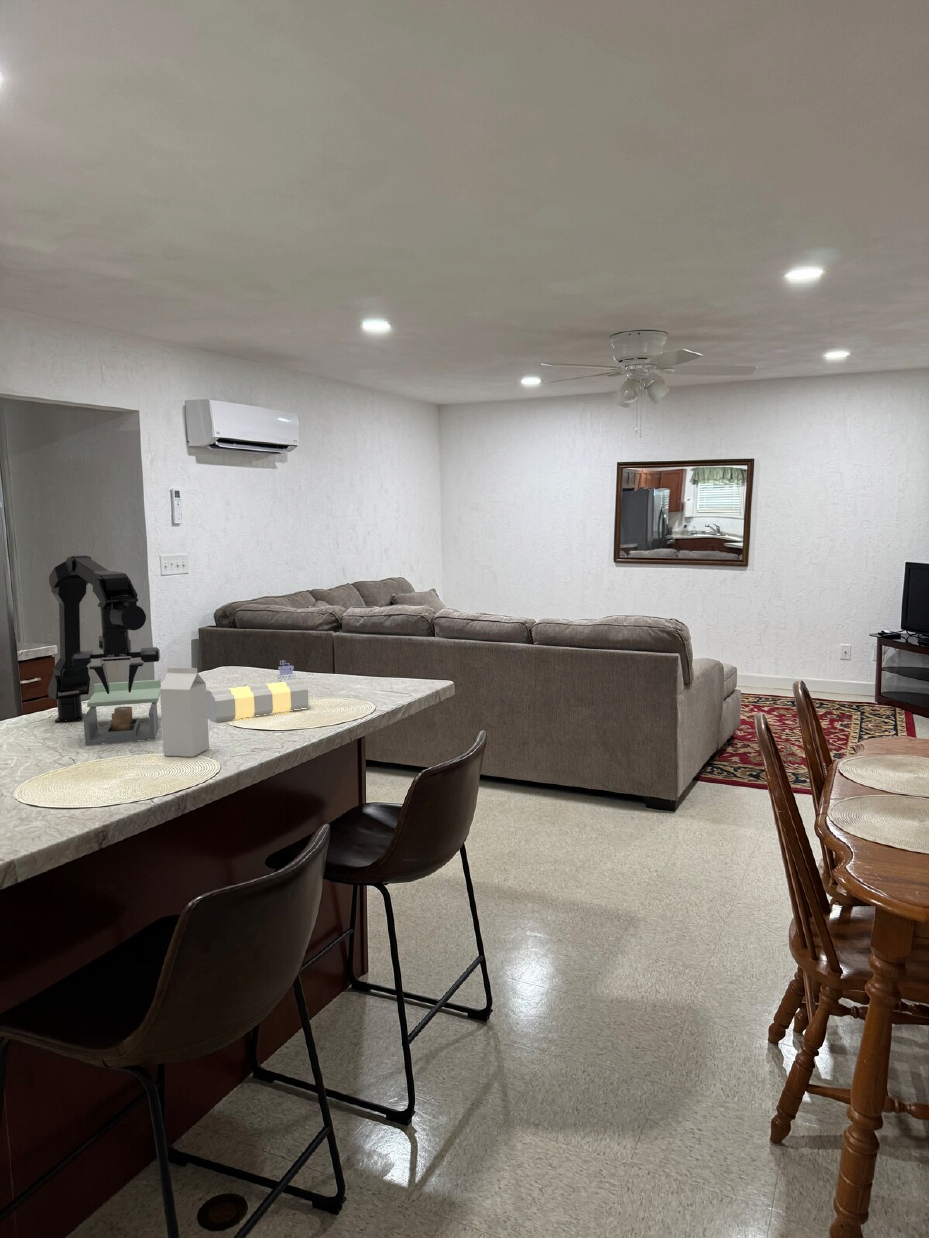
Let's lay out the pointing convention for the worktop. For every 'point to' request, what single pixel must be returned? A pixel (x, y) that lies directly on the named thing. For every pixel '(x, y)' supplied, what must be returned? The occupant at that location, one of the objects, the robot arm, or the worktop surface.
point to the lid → (125, 693)
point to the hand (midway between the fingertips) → (119, 692)
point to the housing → (107, 736)
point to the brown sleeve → (121, 721)
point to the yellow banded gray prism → (257, 698)
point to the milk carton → (184, 713)
